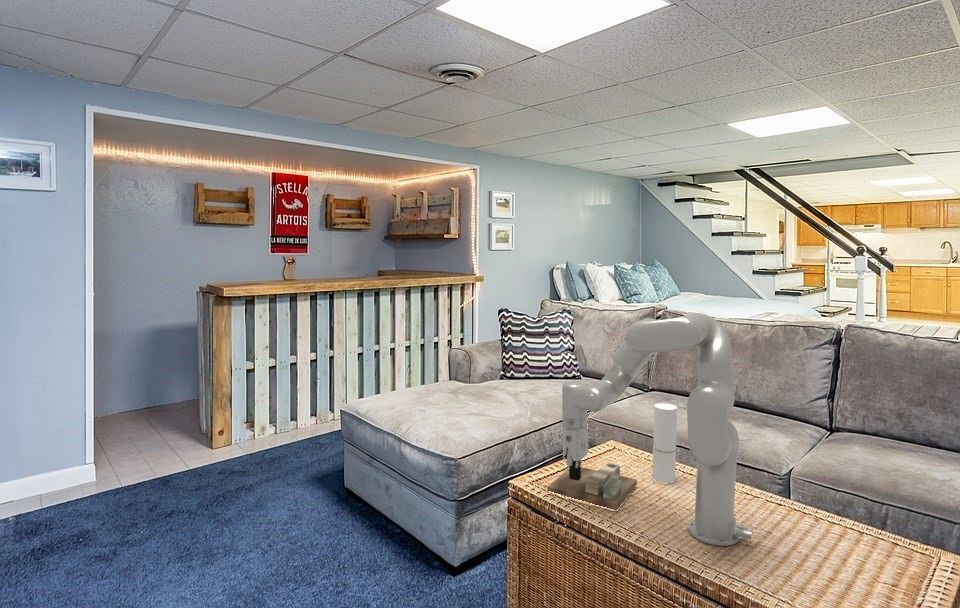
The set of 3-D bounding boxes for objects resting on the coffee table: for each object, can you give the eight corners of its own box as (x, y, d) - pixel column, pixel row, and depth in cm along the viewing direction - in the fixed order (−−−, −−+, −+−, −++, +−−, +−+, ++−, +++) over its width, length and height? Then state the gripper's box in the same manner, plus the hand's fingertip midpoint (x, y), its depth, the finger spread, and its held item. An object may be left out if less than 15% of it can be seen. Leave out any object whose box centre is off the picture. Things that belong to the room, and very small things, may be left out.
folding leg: (608, 474, 178) (608, 462, 177) (619, 477, 175) (620, 465, 175) (585, 491, 165) (585, 478, 165) (597, 495, 163) (597, 482, 162)
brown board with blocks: (636, 486, 175) (637, 467, 174) (616, 512, 158) (616, 491, 157) (572, 472, 187) (573, 453, 186) (547, 494, 170) (547, 474, 169)
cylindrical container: (671, 475, 183) (674, 403, 181) (677, 484, 176) (679, 409, 174) (650, 475, 184) (652, 403, 181) (654, 484, 177) (656, 409, 174)
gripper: (576, 430, 160) (577, 490, 161) (594, 416, 172) (595, 472, 174) (553, 426, 164) (554, 485, 165) (572, 413, 176) (573, 468, 178)
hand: (575, 478), depth 170 cm, fingers closed
